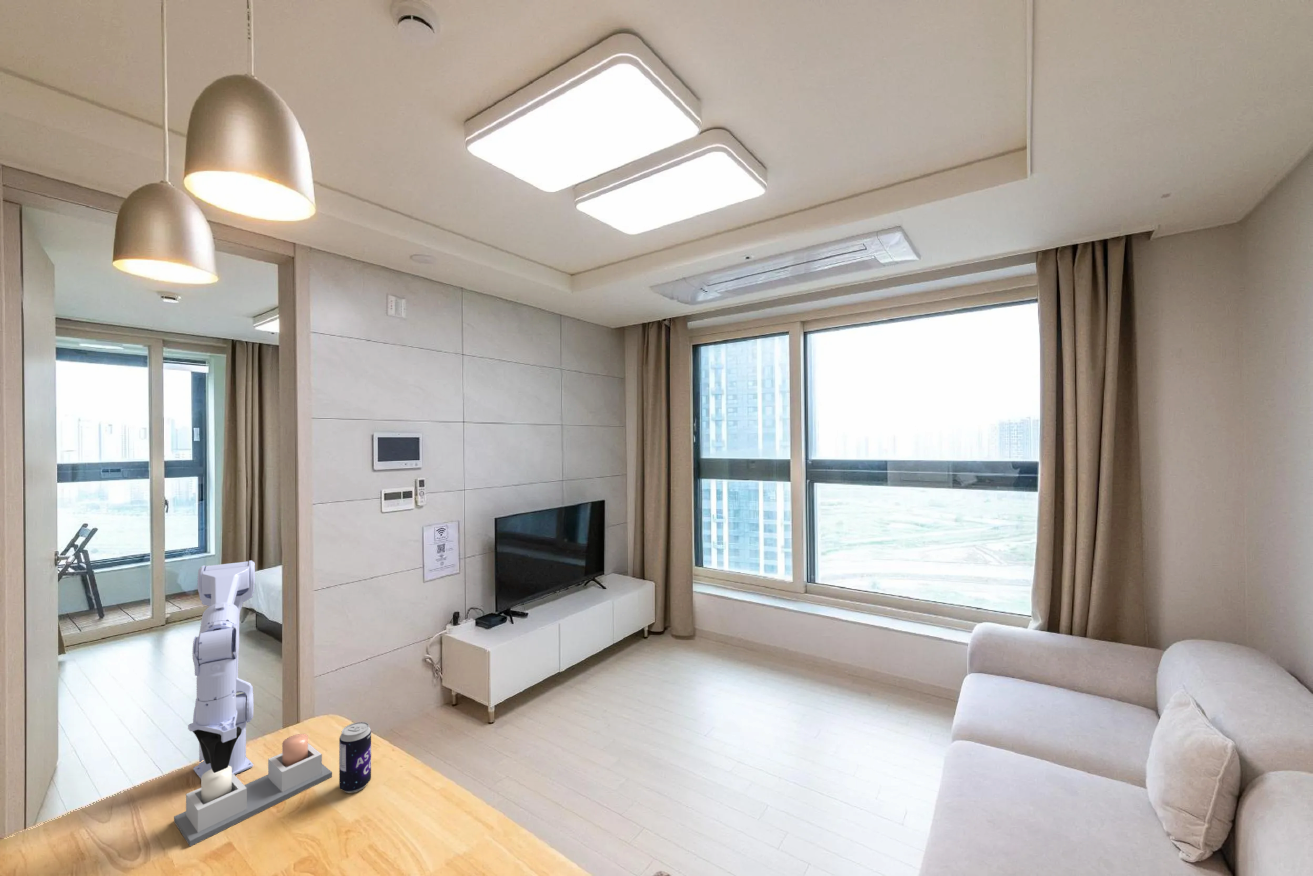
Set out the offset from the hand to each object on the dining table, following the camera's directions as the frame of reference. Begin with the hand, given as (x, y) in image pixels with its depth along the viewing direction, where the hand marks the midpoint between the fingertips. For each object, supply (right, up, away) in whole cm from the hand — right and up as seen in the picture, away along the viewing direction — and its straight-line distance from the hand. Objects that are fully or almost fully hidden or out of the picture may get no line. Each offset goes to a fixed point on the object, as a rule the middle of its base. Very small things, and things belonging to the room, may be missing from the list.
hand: (216, 765), depth 98 cm
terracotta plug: (+7, -6, +11) cm, 14 cm away
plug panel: (+4, -10, +5) cm, 12 cm away
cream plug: (0, -6, 0) cm, 6 cm away
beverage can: (+21, -10, +9) cm, 25 cm away
